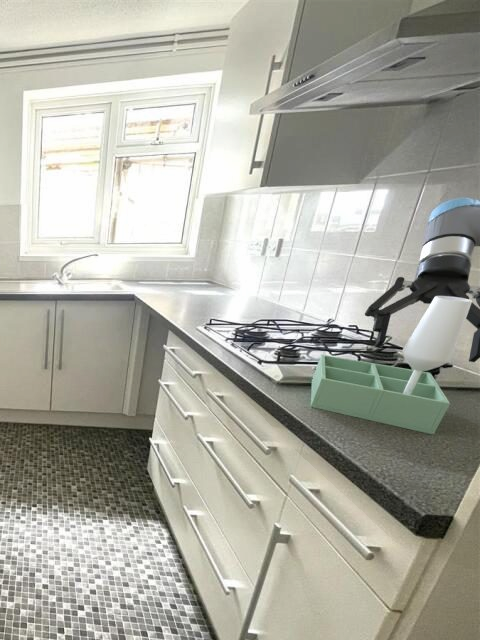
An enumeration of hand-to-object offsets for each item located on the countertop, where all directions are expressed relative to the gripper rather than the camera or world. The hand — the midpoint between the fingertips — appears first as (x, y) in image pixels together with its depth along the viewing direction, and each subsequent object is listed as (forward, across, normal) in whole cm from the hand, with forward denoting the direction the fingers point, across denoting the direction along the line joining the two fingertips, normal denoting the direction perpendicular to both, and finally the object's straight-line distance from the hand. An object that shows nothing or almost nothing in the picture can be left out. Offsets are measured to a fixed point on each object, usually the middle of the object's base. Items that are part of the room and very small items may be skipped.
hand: (425, 351), depth 83 cm
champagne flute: (+11, 0, -8) cm, 13 cm away
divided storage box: (+8, +5, -12) cm, 15 cm away
